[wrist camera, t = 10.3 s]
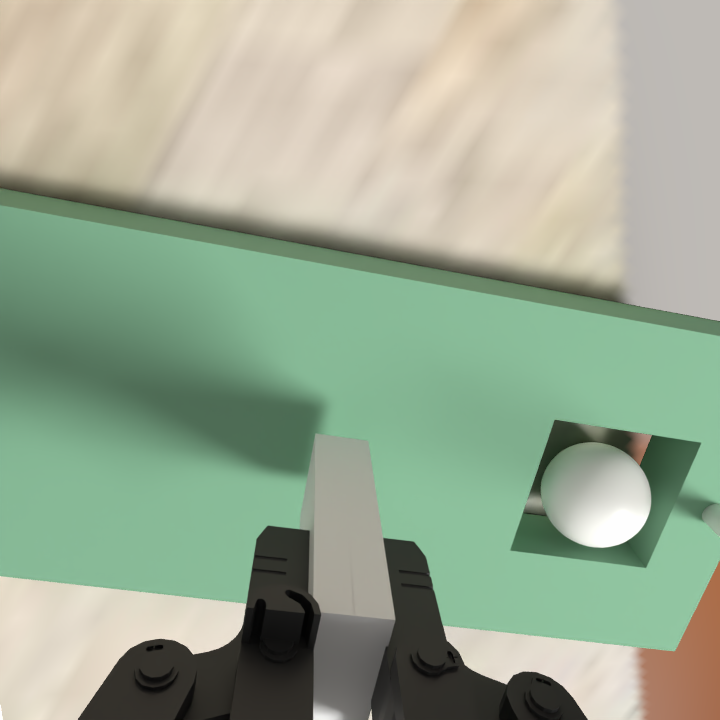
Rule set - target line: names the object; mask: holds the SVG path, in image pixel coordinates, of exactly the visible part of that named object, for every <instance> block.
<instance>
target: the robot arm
mask: <svg viewBox="0 0 720 720" xmlns="http://www.w3.org/2000/svg"><path fill="white" fill-rule="evenodd" d="M371 709H372V720H588V719H587V718H586V716H585V715H584V713H583V712H582V710H581V709H580V708H579V706H578V705H577V703H576V702H575V700H574V699H573V697H572V696H571V695H570V694H569V693H568V692H567V691H566V689H565V688H564V687H563V686H562V685H560V684H559V683H557V682H556V681H554V680H553V679H551V678H550V677H547V676H545V675H542V674H539V673H537V672H521V673H518V674H516V675H513V677H512V678H511V680H510V681H509V682H508V684H507V685H506V684H504V683H501V682H498V681H496V680H493V679H491V678H488V677H485V676H483V675H481V674H479V673H476V672H474V671H472V670H471V669H469V668H468V667H467V666H465V665H464V662H463V660H462V658H461V656H460V654H459V652H458V651H457V650H456V649H455V648H454V647H453V646H452V645H451V644H450V643H449V642H447V640H446V637H445V633H444V628H443V624H442V620H441V616H440V612H439V608H438V604H437V600H436V596H435V592H434V590H433V583H432V579H431V577H430V571H429V567H428V563H427V559H426V556H425V555H424V554H423V552H422V551H421V550H420V548H419V547H418V546H417V545H416V543H415V542H414V541H406V540H397V539H389V538H383V535H382V528H381V521H380V515H379V508H378V502H377V495H376V489H375V482H374V476H373V469H372V462H371V456H370V449H369V443H368V441H366V440H359V439H352V438H345V437H337V436H330V435H323V434H315V439H314V444H313V450H312V455H311V460H310V466H309V471H308V476H307V482H306V487H305V492H304V498H303V503H302V508H301V514H300V529H293V528H285V527H277V526H267V527H266V528H265V529H264V530H263V532H262V533H261V534H260V535H259V536H258V538H257V539H256V546H255V552H254V558H253V564H252V571H251V577H250V583H249V590H248V596H247V603H246V609H245V616H244V622H243V626H242V629H241V631H240V632H239V633H238V635H237V636H236V637H235V638H234V639H233V640H232V641H231V642H230V643H228V644H227V645H225V646H223V647H221V648H219V649H216V650H213V651H209V652H205V653H199V654H194V655H193V654H192V653H191V652H190V650H189V649H188V648H187V647H186V646H184V645H182V644H180V643H178V642H176V641H173V640H165V639H156V640H150V641H145V642H142V643H140V644H138V645H136V646H134V647H132V648H130V649H129V650H128V651H127V652H126V653H125V654H124V655H123V656H122V657H121V658H120V659H119V661H118V662H117V664H116V665H115V666H114V668H113V669H112V671H111V672H110V674H109V675H108V677H107V678H106V679H105V681H104V682H103V684H102V685H101V687H100V688H99V690H98V691H97V692H96V694H95V695H94V697H93V698H92V700H91V701H90V703H89V704H88V705H87V707H86V708H85V710H84V711H83V713H82V714H81V716H80V717H79V718H78V720H368V718H369V715H370V711H371Z"/></svg>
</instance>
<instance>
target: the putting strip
mask: <svg viewBox="0 0 720 720" xmlns="http://www.w3.org/2000/svg"><path fill="white" fill-rule="evenodd" d="M554 420H561V421H567V422H573V423H580V424H586V425H592V426H599V427H605V428H611V429H618V430H624V431H630V432H637V433H643V434H650V435H652V437H651V439H650V442H649V444H648V447H647V449H646V452H645V454H644V456H643V459H642V461H641V464H640V467H641V469H642V470H643V472H644V474H645V476H646V478H647V480H648V483H649V486H650V490H651V508H650V512H649V515H648V518H647V520H646V522H645V524H644V525H643V527H642V528H641V529H640V531H639V532H638V533H637V534H636V535H634V536H633V537H632V538H631V539H629V540H627V541H626V542H624V543H621V544H619V545H616V546H611V547H604V548H598V547H589V546H585V545H582V544H579V543H577V542H574V541H572V540H570V539H569V538H567V537H566V536H564V535H563V534H562V533H561V532H559V531H558V530H557V528H556V527H555V526H554V525H553V524H552V523H551V521H550V520H549V518H548V516H540V515H533V514H526V513H523V511H524V508H525V505H526V502H527V499H528V496H529V493H530V490H531V488H532V485H533V482H534V479H535V476H536V473H537V470H538V467H539V464H540V461H541V458H542V455H543V452H544V449H545V447H546V444H547V441H548V438H549V435H550V432H551V429H552V426H553V423H554ZM315 434H323V435H330V436H337V437H345V438H352V439H359V440H366V441H368V443H369V449H370V456H371V462H372V469H373V476H374V482H375V489H376V495H377V502H378V508H379V515H380V521H381V528H382V535H383V538H389V539H397V540H406V541H414V542H415V543H416V545H417V546H418V547H419V548H420V550H421V551H422V552H423V554H424V555H425V556H426V559H427V563H428V567H429V571H430V577H431V579H432V583H433V590H434V592H435V596H436V600H437V604H438V608H439V612H440V616H441V620H442V624H443V625H444V626H453V627H462V628H471V629H480V630H489V631H498V632H507V633H516V634H524V635H533V636H542V637H551V638H560V639H569V640H578V641H587V642H596V643H605V644H614V645H623V646H632V647H641V648H650V649H659V650H668V651H675V650H676V648H677V646H678V644H679V642H680V640H681V638H682V636H683V634H684V632H685V629H686V627H687V625H688V623H689V621H690V619H691V617H692V615H693V613H694V611H695V609H696V607H697V605H698V603H699V601H700V599H701V597H702V595H703V593H704V591H705V589H706V587H707V585H708V583H709V581H710V579H711V576H712V575H713V572H714V570H715V568H716V566H717V564H718V562H719V560H720V321H715V320H710V319H705V318H699V317H694V316H689V315H683V314H678V313H672V312H667V311H661V310H656V309H650V308H645V307H640V306H635V305H629V304H624V303H618V302H613V301H608V300H602V299H597V298H591V297H586V296H581V295H575V294H570V293H564V292H559V291H554V290H548V289H543V288H537V287H532V286H527V285H521V284H516V283H510V282H505V281H499V280H494V279H489V278H483V277H478V276H472V275H467V274H462V273H456V272H451V271H445V270H440V269H435V268H429V267H424V266H418V265H413V264H408V263H402V262H397V261H391V260H386V259H381V258H375V257H370V256H364V255H359V254H354V253H348V252H343V251H337V250H332V249H327V248H321V247H316V246H310V245H305V244H300V243H294V242H289V241H283V240H278V239H273V238H267V237H262V236H256V235H251V234H246V233H240V232H235V231H229V230H224V229H219V228H213V227H208V226H202V225H197V224H192V223H186V222H181V221H175V220H170V219H165V218H159V217H154V216H148V215H143V214H138V213H132V212H127V211H121V210H116V209H111V208H105V207H100V206H94V205H89V204H84V203H78V202H73V201H67V200H62V199H57V198H51V197H46V196H40V195H35V194H30V193H24V192H19V191H13V190H8V189H3V188H0V576H5V577H13V578H22V579H31V580H40V581H49V582H58V583H67V584H76V585H85V586H94V587H103V588H112V589H121V590H130V591H139V592H148V593H157V594H166V595H175V596H184V597H193V598H202V599H211V600H220V601H229V602H238V603H247V596H248V590H249V583H250V577H251V571H252V564H253V558H254V552H255V546H256V539H257V538H258V536H259V535H260V534H261V533H262V532H263V530H264V529H265V528H266V527H267V526H277V527H285V528H293V529H300V514H301V508H302V503H303V498H304V492H305V487H306V482H307V476H308V471H309V466H310V460H311V455H312V450H313V444H314V439H315Z"/></svg>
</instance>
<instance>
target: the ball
mask: <svg viewBox="0 0 720 720" xmlns="http://www.w3.org/2000/svg"><path fill="white" fill-rule="evenodd" d="M541 499H542V504H543V507H544V510H545V512H546V514H547V516H548V518H549V520H550V521H551V523H552V524H553V525H554V526H555V527H556V528H557V530H558V531H559V532H561V533H562V534H563V535H564V536H566V537H567V538H569V539H570V540H572V541H574V542H577V543H579V544H582V545H585V546H589V547H598V548H604V547H611V546H616V545H619V544H621V543H624V542H626V541H627V540H629V539H631V538H632V537H633V536H634V535H636V534H637V533H638V532H639V531H640V529H641V528H642V527H643V525H644V524H645V522H646V520H647V518H648V515H649V512H650V508H651V490H650V486H649V483H648V480H647V478H646V476H645V474H644V472H643V470H642V469H641V467H640V466H639V465H638V463H637V462H636V461H635V460H634V459H633V458H631V457H630V456H629V455H628V454H627V453H625V452H623V451H622V450H620V449H618V448H616V447H613V446H611V445H607V444H603V443H596V442H588V443H580V444H576V445H573V446H571V447H568V448H566V449H565V450H563V451H561V452H560V453H559V454H557V455H556V456H555V457H554V458H553V459H552V461H551V462H550V463H549V465H548V466H547V468H546V470H545V472H544V475H543V478H542V483H541Z"/></svg>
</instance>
